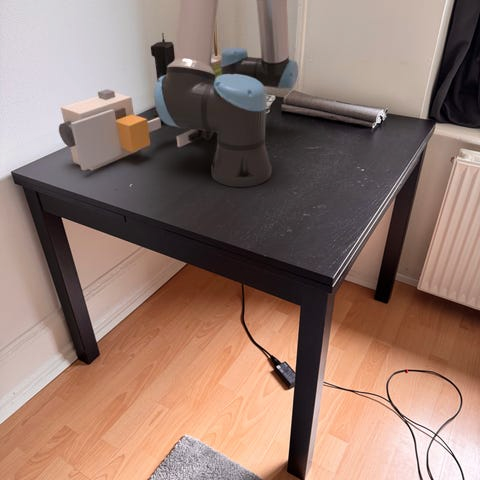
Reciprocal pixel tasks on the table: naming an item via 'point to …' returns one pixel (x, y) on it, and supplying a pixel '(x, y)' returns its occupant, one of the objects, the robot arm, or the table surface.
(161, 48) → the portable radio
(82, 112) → the camera housing
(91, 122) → the side door
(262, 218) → the table surface
